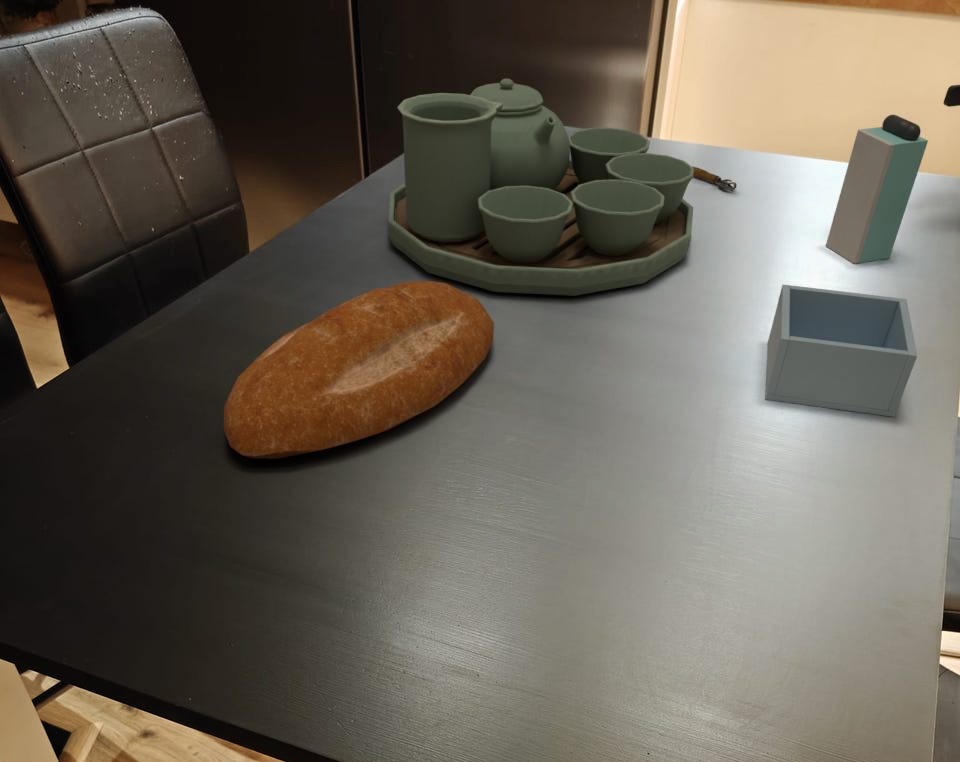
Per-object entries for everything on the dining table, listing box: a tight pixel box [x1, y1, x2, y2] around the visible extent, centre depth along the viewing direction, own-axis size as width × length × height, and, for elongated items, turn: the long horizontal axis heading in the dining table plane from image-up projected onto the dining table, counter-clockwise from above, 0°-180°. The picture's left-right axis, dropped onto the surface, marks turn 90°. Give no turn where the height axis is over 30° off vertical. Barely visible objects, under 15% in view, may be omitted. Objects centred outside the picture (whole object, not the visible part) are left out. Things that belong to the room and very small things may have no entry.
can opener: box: [692, 166, 738, 191], centre depth 138 cm, size 9×2×1 cm, turn 34°
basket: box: [764, 284, 918, 418], centre depth 96 cm, size 13×13×7 cm
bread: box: [223, 280, 495, 460], centre depth 91 cm, size 18×35×9 cm, turn 142°
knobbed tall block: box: [825, 114, 929, 264], centre depth 116 cm, size 6×6×16 cm
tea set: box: [387, 78, 694, 297], centre depth 118 cm, size 40×40×16 cm
